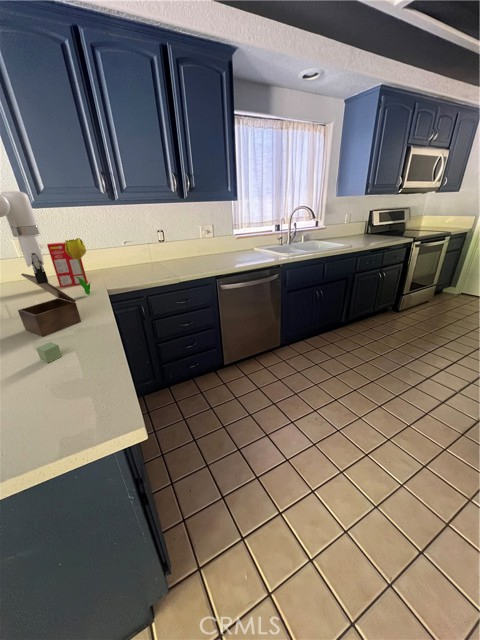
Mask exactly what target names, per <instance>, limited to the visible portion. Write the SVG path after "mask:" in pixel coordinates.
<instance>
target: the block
mask: <svg viewBox="0 0 480 640" xmlns="http://www.w3.org/2000/svg"><path fill="white" fill-rule="evenodd" d="M60 349H61V348H60V346H59V344H57V343H55V342H52V341H49V342H47V343H45V344H42V345H40V346H37V347H35V350H36V351H37V354H38V357H39V360H40V359H41V360H40V361H42V360H43V361H42V362H44V361H46V362H50V361H52V362H54V361H57V360H58V359H60V358H62V357H63V355H62V352H61V350H60ZM61 356H62V357H61ZM53 360H54V361H53ZM46 362H45V363H46ZM50 363H51V362H50Z"/></svg>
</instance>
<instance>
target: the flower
mask: <svg viewBox="0 0 480 640" xmlns="http://www.w3.org/2000/svg"><path fill="white" fill-rule="evenodd" d="M64 242H65V251H66V253H67V254H68V255H69V256H71V257H72V258H74V259H78V262H79V265H80V261H79V259H81V260H82V258H83V256H85V255H86V253H87V248H86V246H85V245H86V244H85V243H84V242H83V240H82V239H81V238H79V237H77V238H73V239H66V240H64ZM80 268H81V265H80ZM81 272H82V269H81ZM82 275H83V272H82ZM76 278H78V279H79V282H80V284H81V285H80V286H81V287H82V288H83V291H84V294H85V295H87V296H90V294H91V291H90V290H91V284H92V282H88V284H86V282H85V280H84V281H83V280H82V279H81V278H79V277H76ZM83 278H84V276H83Z"/></svg>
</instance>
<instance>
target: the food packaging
mask: <svg viewBox="0 0 480 640" xmlns="http://www.w3.org/2000/svg"><path fill="white" fill-rule="evenodd" d="M46 246H47V249H48V252H49V255H50V259H51V262H52V266H53V268H54V272H55V275H56V279H57V282H58V285H59V288H67V287H73V286H81V284H80V282H79V279H78V278H76V277H79V278H81V279H82V280H83V281H84V280H85V282H86V284H87V285H88V284H89V282H88V279H87V276H86V272H85V268H84V263H83V259H82V258H81V259H79V261H80V265H81V268H80V265H79V262H78V259H74V258H72V257H71V256H69V255H68V254H67V253H66V251H65V241H64V242H52V243H47V244H46ZM81 269H82V272H83V275H82V272H81ZM83 276H84V278H83Z"/></svg>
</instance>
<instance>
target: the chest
mask: <svg viewBox="0 0 480 640" xmlns="http://www.w3.org/2000/svg"><path fill="white" fill-rule="evenodd" d="M17 312H18V315H19V317H20V320H21V322H22V325H23V327H24V330H25V332H26V331H27V332H29V333H31V334H34V335H37V336H39V337H42V338H43V337H46V336H49V335H52V334H53V333H56V332H59V331H61V330H64V329H66V328H69V327H71V326H74V325H76V324H79V323H81V322H82V319H81V316H80V313H79V308H78V305H77V303H76V302H72V301H68V300H65V299H61V298H57V297H56V298H54V299H50V300H47V301H43V302H40V303H37V304H33V305H30V306H27V307H23V308H20V309H17Z"/></svg>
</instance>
